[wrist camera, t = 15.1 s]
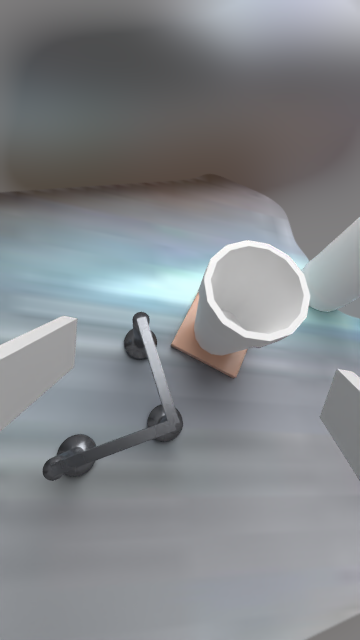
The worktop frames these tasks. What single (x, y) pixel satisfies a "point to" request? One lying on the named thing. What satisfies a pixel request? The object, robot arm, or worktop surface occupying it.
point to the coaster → (192, 348)
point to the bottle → (335, 272)
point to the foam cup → (249, 298)
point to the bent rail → (162, 426)
